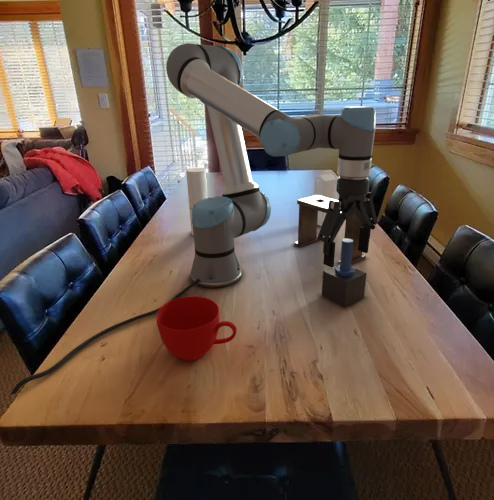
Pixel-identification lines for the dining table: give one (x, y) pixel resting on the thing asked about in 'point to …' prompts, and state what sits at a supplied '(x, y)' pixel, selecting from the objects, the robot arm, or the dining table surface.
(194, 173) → the cylindrical container
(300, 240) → the stand
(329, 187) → the milk
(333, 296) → the holder
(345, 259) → the peg
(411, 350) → the dining table surface
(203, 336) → the ceramic cup
